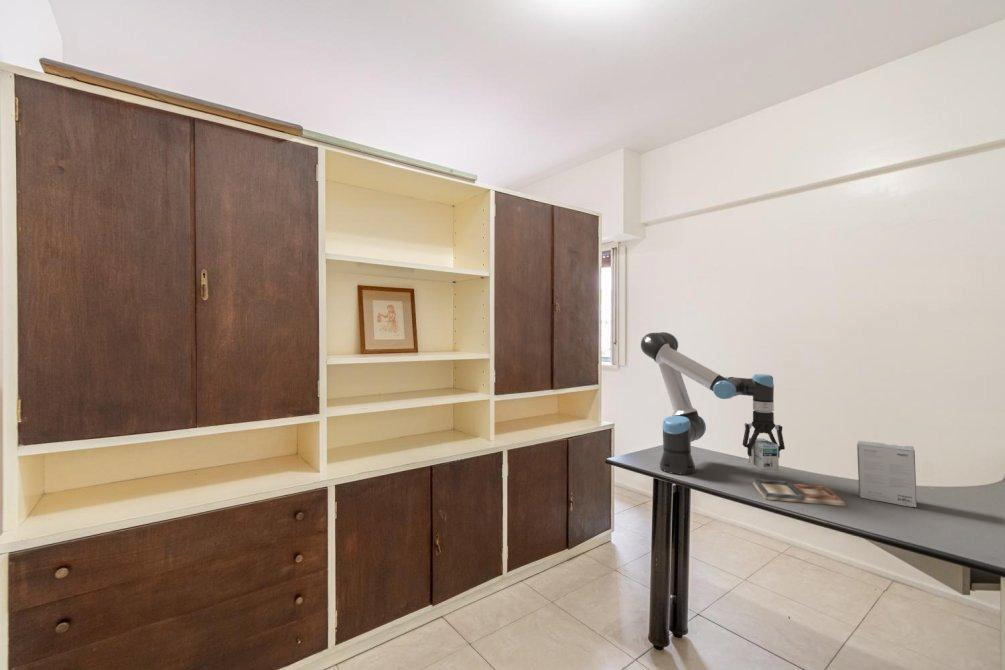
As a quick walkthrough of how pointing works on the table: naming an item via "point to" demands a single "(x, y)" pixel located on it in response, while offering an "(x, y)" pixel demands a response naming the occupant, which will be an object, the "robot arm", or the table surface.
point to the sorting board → (797, 492)
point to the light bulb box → (765, 454)
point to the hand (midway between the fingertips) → (763, 464)
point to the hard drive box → (887, 473)
